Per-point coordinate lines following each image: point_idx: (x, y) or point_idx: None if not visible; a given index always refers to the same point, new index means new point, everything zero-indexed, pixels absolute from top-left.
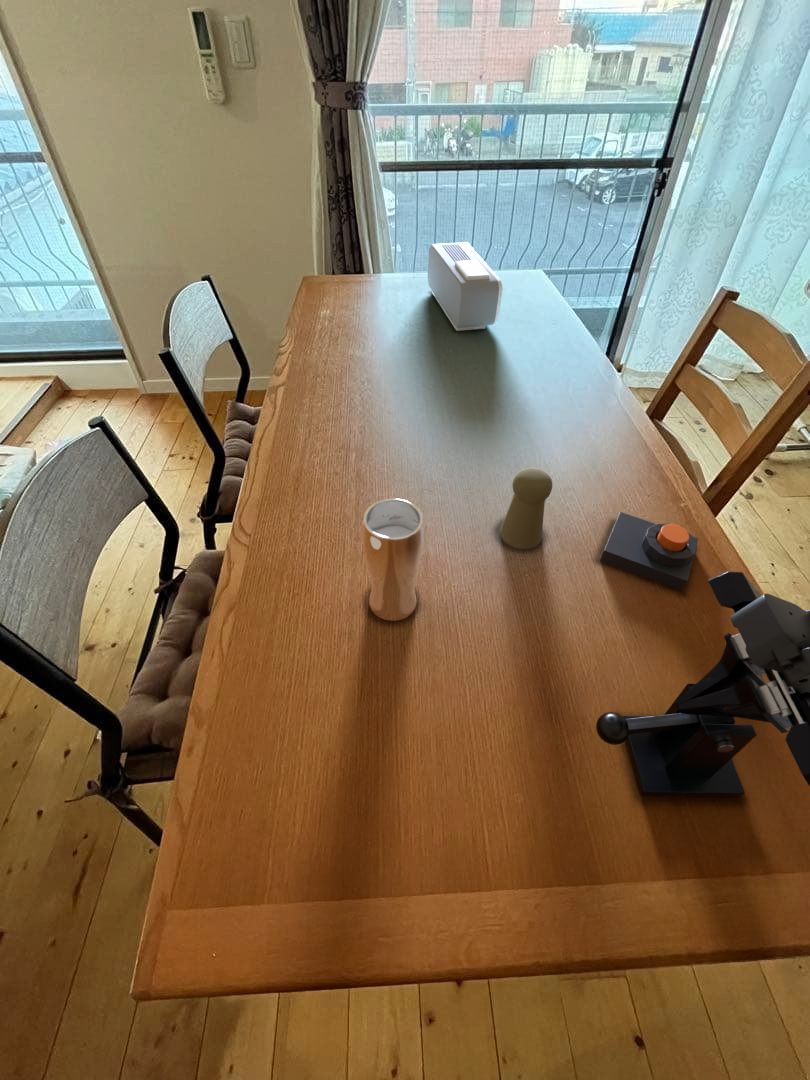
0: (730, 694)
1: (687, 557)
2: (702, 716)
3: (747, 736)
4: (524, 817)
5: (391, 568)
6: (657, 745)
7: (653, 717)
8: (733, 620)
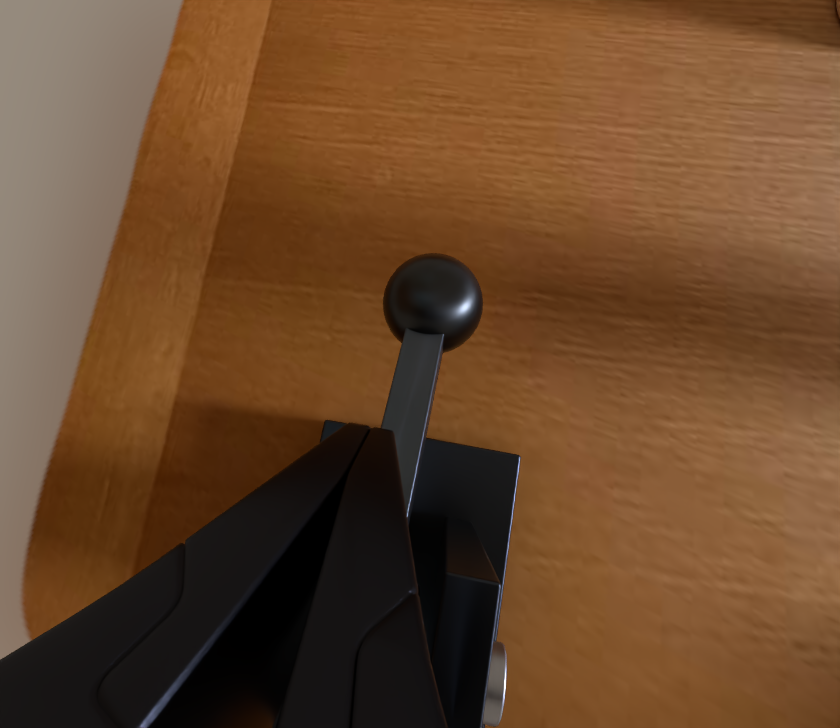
0: (88, 694)
1: None
2: None
3: None
4: (344, 178)
5: None
6: (426, 511)
7: (420, 414)
8: None
